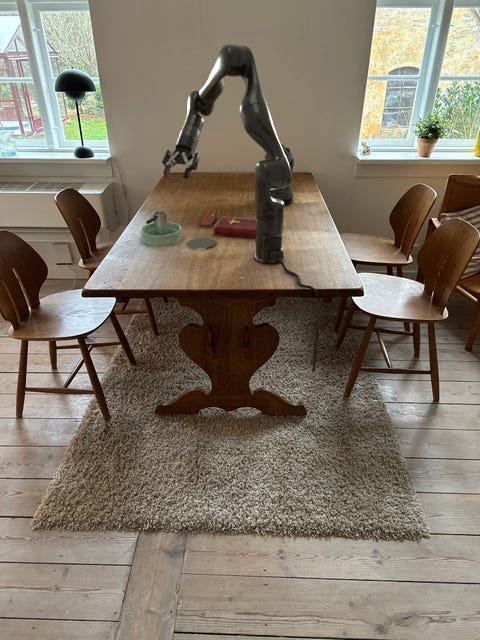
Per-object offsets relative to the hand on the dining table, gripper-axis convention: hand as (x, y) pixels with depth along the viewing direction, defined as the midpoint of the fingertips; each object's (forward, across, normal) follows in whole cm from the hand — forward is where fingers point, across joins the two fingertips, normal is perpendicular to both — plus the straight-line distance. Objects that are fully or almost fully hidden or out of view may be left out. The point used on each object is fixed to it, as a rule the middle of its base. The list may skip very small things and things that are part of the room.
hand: (175, 176), depth 173 cm
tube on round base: (+26, 0, +3) cm, 26 cm away
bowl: (+24, 0, +6) cm, 24 cm away
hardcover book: (+10, +26, +19) cm, 34 cm away
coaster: (+22, +16, +7) cm, 28 cm away
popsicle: (+6, +7, +24) cm, 26 cm away
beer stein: (-22, +23, +52) cm, 60 cm away
